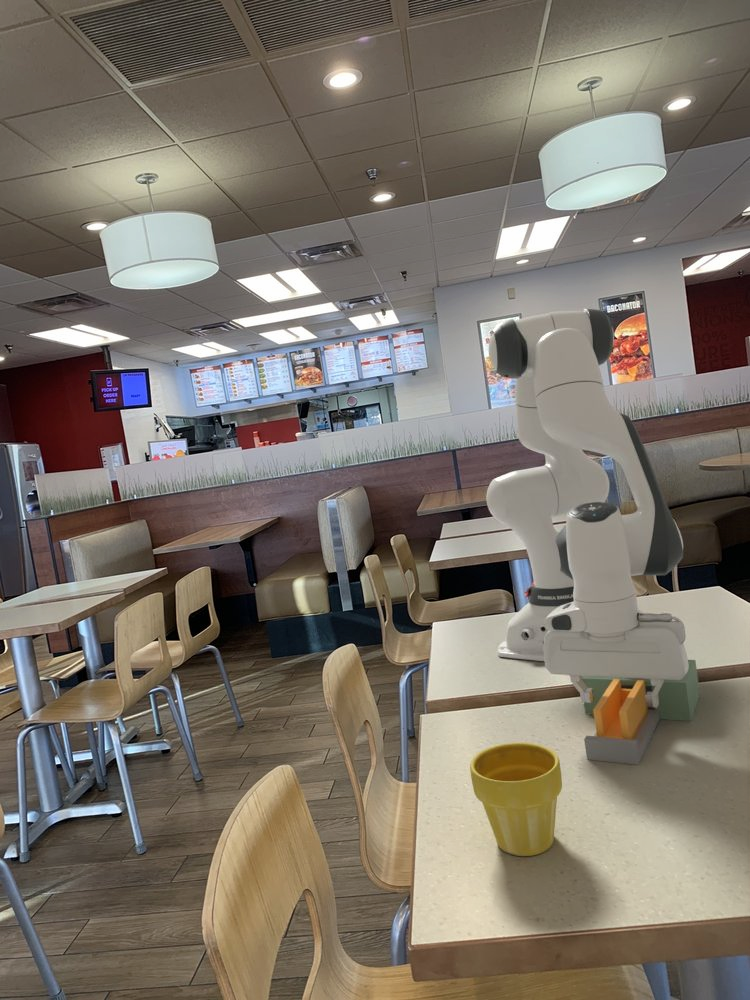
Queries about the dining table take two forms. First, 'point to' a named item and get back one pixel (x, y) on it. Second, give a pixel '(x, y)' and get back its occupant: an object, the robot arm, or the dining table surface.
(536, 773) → the plant pot
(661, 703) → the green coffee machine
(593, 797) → the dining table surface
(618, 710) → the chute
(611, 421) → the robot arm
